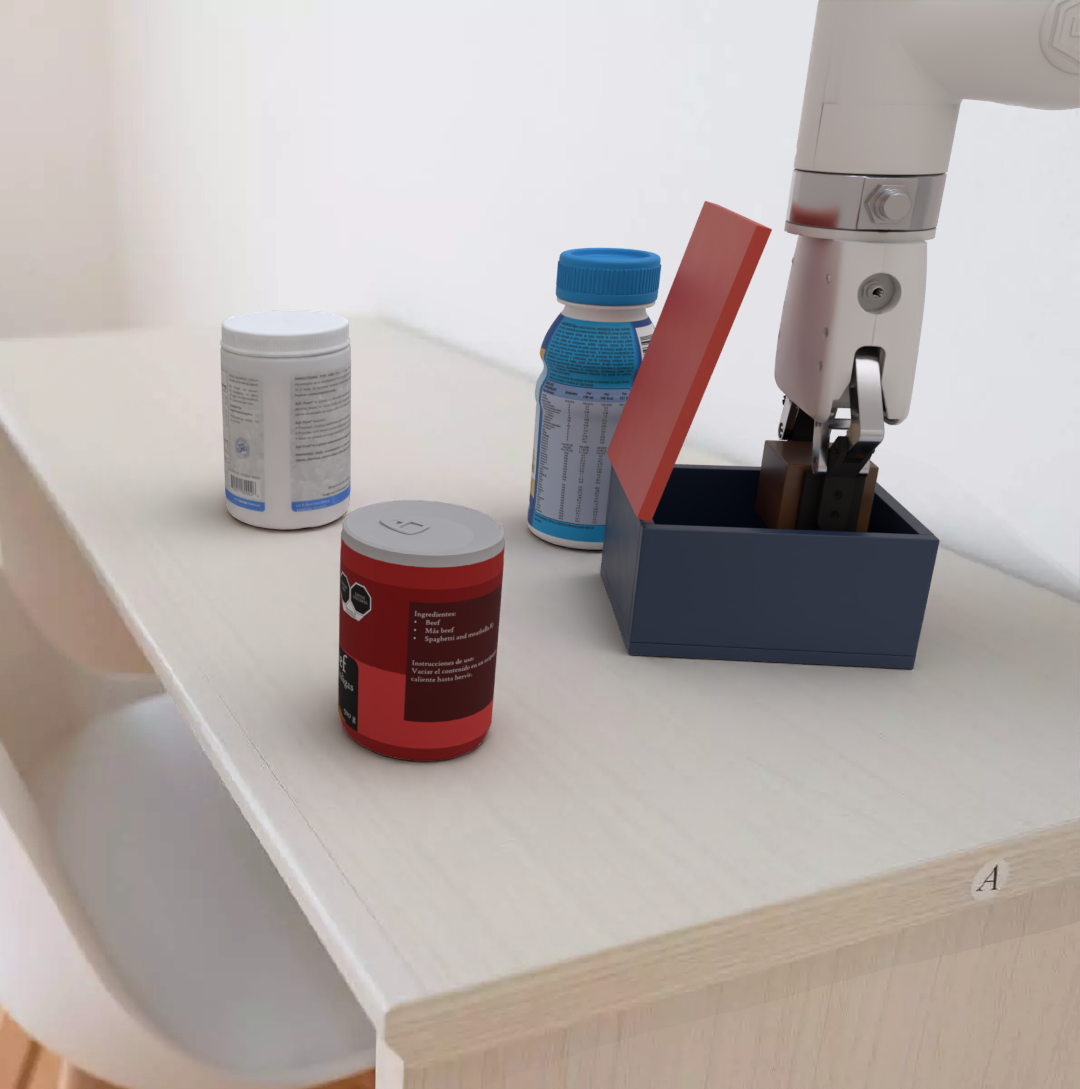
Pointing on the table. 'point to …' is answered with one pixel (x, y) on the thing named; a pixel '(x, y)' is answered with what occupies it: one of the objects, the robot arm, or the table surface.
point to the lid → (684, 352)
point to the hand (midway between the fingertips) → (809, 518)
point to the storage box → (763, 577)
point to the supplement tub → (286, 417)
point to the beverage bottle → (587, 387)
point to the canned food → (419, 627)
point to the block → (796, 484)
